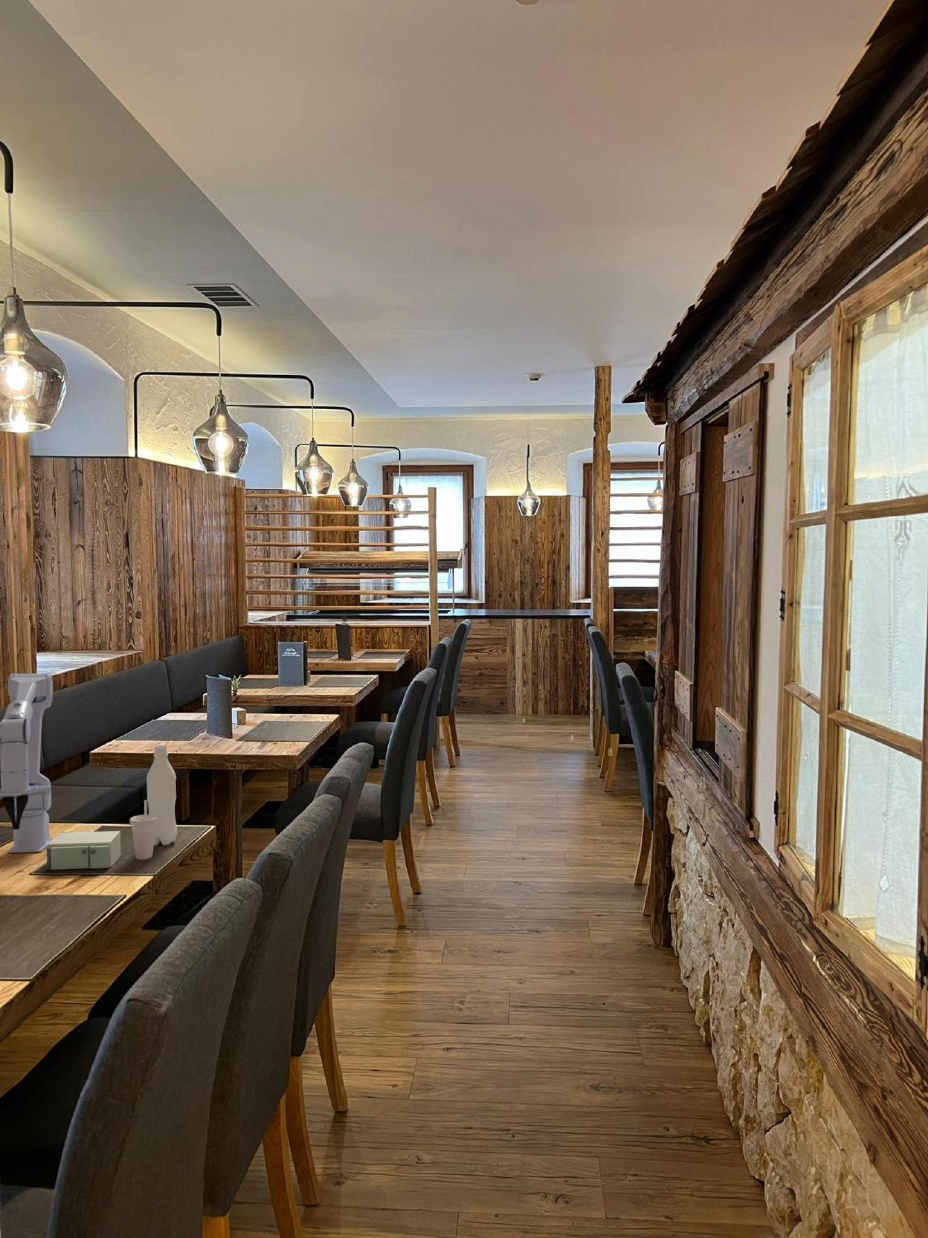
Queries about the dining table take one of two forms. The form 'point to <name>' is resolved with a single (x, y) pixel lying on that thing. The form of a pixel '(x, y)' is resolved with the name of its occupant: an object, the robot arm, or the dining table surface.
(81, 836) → the cabinet
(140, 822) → the smoothie
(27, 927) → the dining table surface
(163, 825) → the water bottle
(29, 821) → the robot arm
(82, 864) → the door
